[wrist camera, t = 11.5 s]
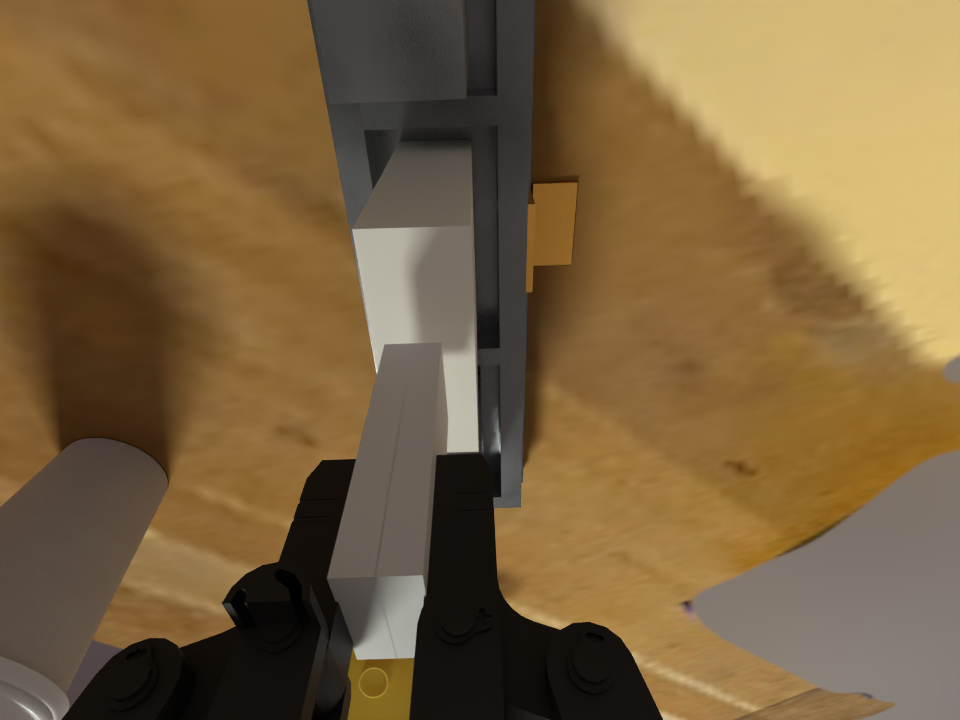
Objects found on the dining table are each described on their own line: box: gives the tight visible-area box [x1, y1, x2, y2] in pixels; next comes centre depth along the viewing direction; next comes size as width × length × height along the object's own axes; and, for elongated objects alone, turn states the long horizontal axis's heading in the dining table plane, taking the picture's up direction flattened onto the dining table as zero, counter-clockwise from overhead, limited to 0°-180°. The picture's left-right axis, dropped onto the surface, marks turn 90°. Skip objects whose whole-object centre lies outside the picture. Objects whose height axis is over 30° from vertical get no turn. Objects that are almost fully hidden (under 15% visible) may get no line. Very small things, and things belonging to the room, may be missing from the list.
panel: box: [352, 140, 479, 452], centre depth 19 cm, size 8×3×10 cm, turn 1°
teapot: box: [347, 649, 414, 720], centre depth 41 cm, size 14×14×11 cm
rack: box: [307, 0, 578, 508], centre depth 20 cm, size 34×10×11 cm, turn 2°
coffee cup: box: [0, 438, 168, 720], centre depth 27 cm, size 10×10×15 cm
